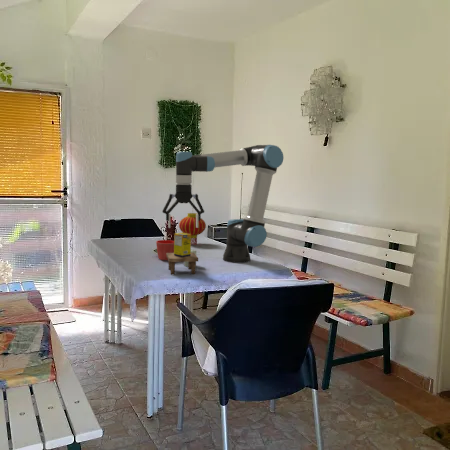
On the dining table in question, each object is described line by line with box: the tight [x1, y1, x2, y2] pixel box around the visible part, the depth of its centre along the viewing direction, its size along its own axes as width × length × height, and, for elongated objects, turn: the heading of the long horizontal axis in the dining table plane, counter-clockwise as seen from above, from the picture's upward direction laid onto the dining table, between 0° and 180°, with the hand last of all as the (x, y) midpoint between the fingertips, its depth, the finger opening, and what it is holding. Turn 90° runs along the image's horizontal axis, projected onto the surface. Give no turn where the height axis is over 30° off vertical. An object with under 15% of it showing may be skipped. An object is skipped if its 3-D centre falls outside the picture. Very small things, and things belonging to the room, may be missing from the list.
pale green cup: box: [183, 249, 197, 268], centre depth 251 cm, size 6×6×8 cm
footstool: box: [166, 253, 199, 275], centre depth 239 cm, size 14×14×8 cm
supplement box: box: [173, 232, 192, 257], centre depth 237 cm, size 6×6×11 cm
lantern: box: [178, 212, 207, 246], centre depth 311 cm, size 17×17×30 cm
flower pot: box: [155, 239, 174, 261], centre depth 266 cm, size 11×11×10 cm
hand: (183, 227), depth 236 cm, fingers open, 13 cm apart
